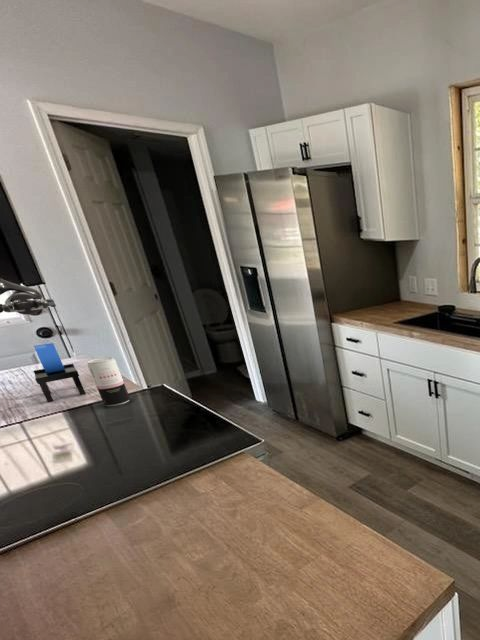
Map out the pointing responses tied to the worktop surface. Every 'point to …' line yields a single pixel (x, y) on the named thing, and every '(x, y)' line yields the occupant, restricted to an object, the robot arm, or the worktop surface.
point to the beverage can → (108, 381)
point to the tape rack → (67, 373)
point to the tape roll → (49, 358)
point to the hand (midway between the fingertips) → (26, 307)
